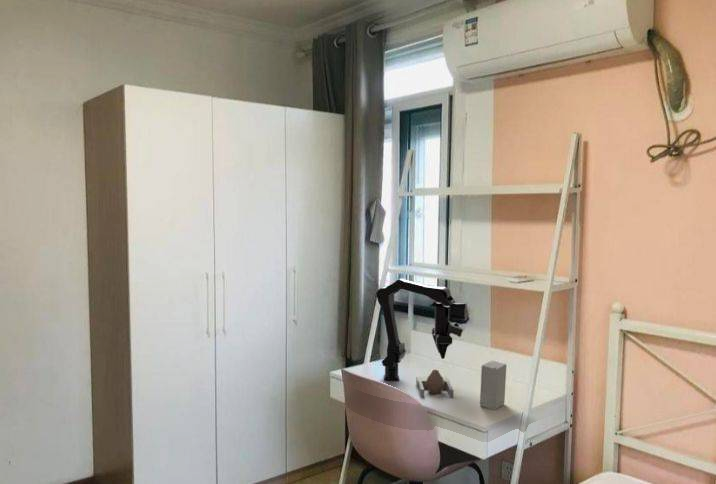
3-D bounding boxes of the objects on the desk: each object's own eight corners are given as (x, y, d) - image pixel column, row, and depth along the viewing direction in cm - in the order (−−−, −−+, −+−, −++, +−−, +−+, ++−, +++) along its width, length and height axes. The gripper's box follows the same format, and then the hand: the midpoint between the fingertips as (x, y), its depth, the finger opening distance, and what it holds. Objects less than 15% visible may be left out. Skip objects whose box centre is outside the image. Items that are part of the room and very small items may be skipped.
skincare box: (489, 400, 217) (490, 359, 216) (506, 405, 212) (507, 363, 211) (478, 406, 210) (479, 364, 209) (496, 411, 206) (497, 367, 205)
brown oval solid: (423, 390, 228) (423, 369, 228) (438, 388, 231) (438, 367, 230) (431, 396, 222) (431, 373, 222) (446, 394, 224) (447, 372, 224)
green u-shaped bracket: (416, 383, 237) (416, 376, 237) (447, 384, 237) (447, 377, 237) (420, 397, 220) (420, 389, 220) (453, 397, 220) (454, 389, 220)
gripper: (465, 322, 224) (464, 361, 225) (457, 314, 243) (457, 350, 244) (437, 322, 224) (436, 361, 225) (431, 314, 243) (431, 350, 244)
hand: (441, 355), depth 235 cm, fingers open, 9 cm apart
